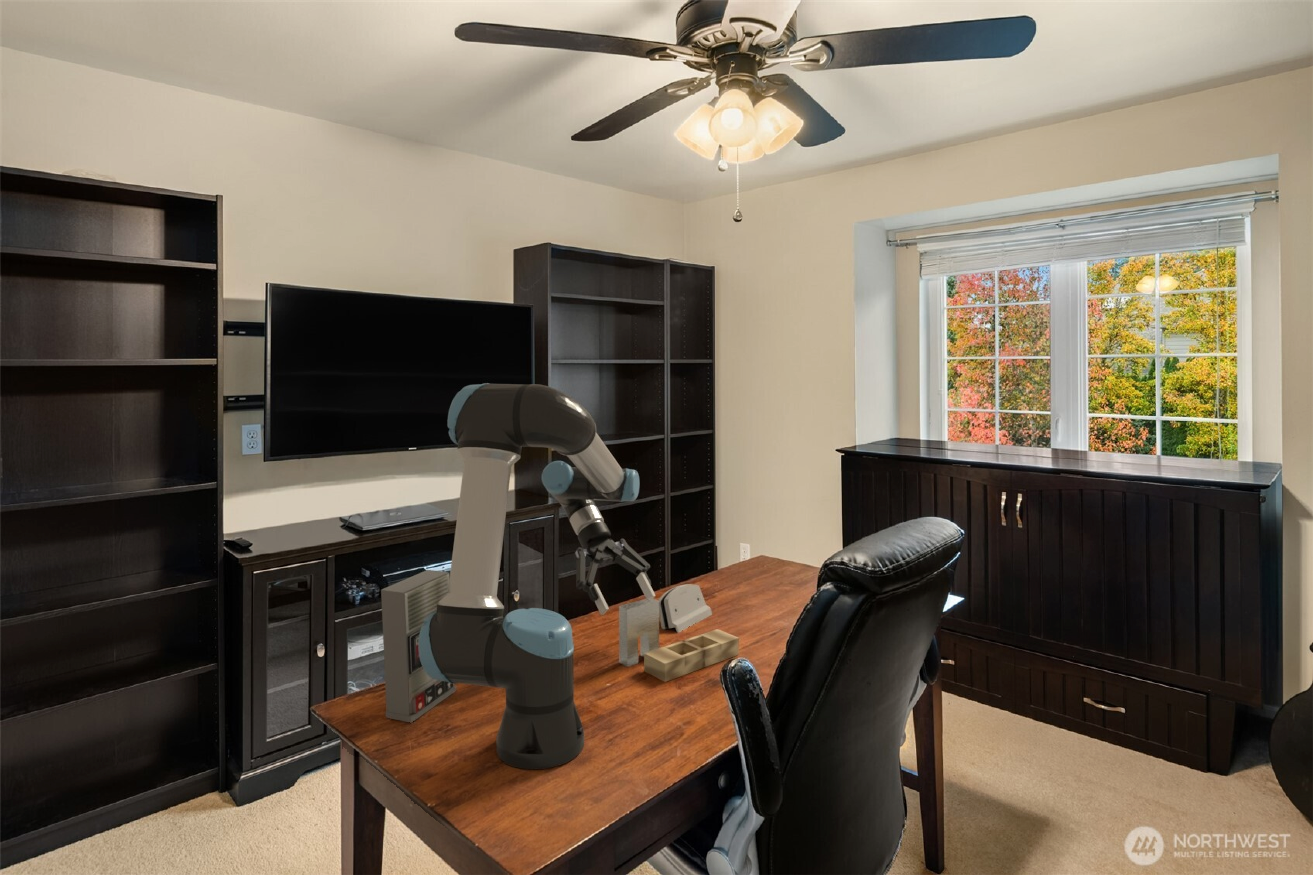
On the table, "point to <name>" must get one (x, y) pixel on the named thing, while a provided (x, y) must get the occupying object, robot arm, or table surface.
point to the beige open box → (690, 654)
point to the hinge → (682, 607)
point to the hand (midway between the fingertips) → (629, 605)
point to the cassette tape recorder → (410, 645)
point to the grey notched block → (638, 629)
